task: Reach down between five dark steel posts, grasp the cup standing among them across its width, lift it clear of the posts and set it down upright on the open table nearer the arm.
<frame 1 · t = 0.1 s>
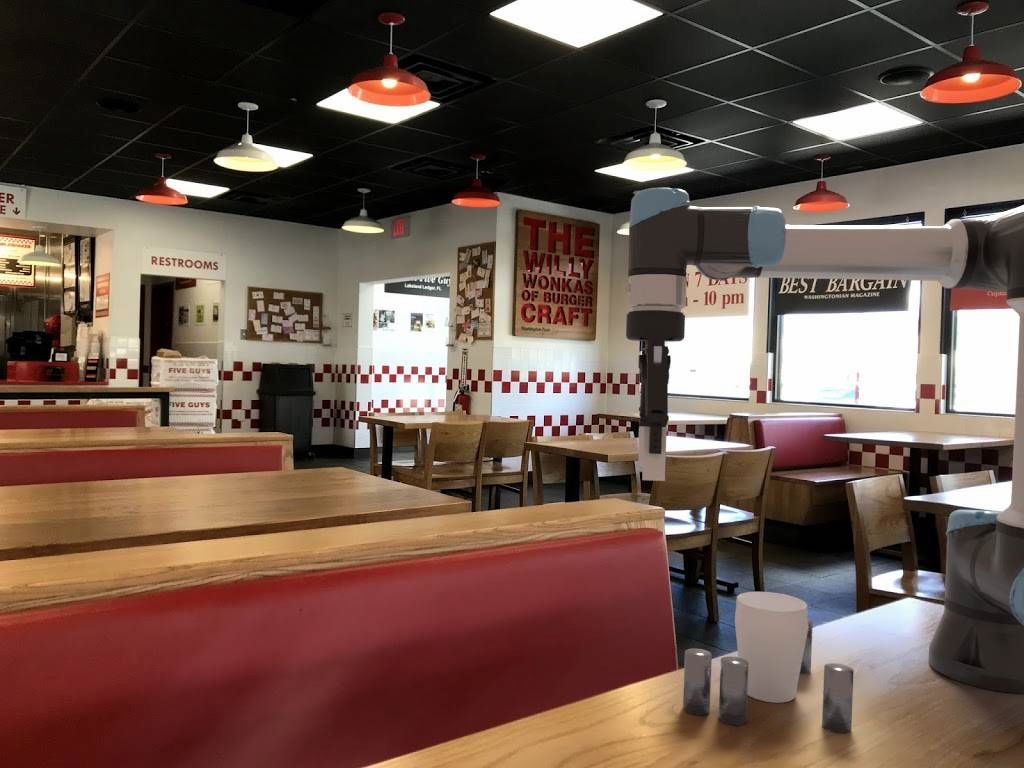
hand: (650, 473, 104), 28 cm above the table, fingers open, 13 cm apart
cup: (768, 694, 104), on the table
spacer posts: (768, 692, 104), on the table
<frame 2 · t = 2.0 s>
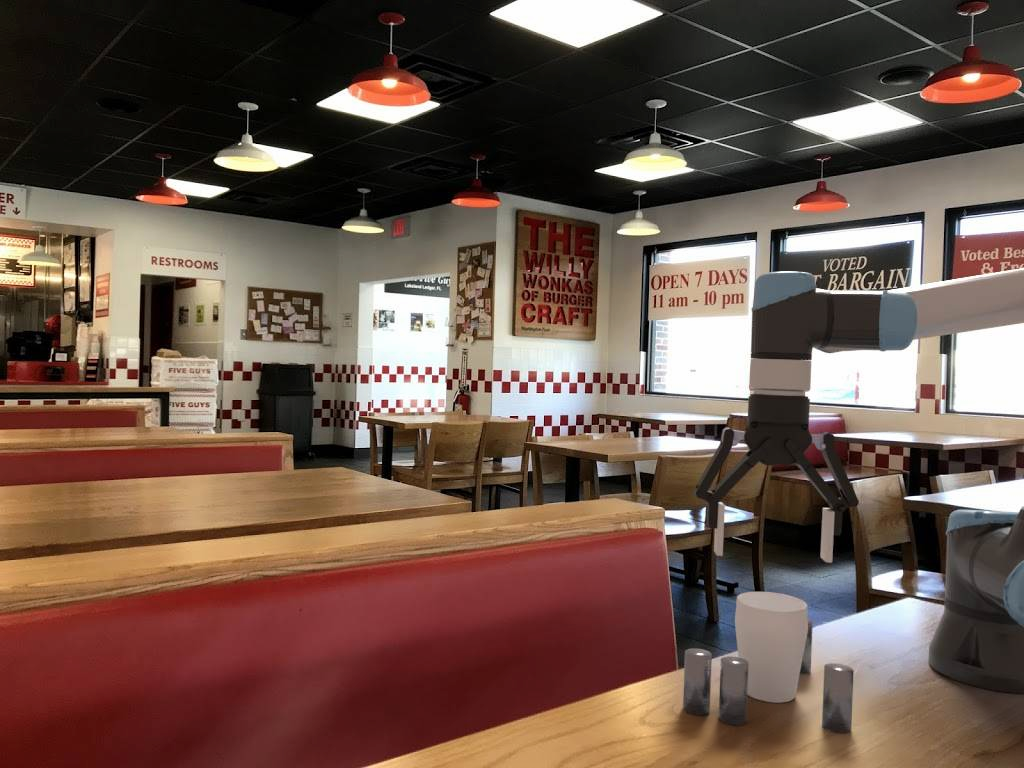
hand: (771, 556, 103), 18 cm above the table, fingers open, 13 cm apart
nothing on the table moved.
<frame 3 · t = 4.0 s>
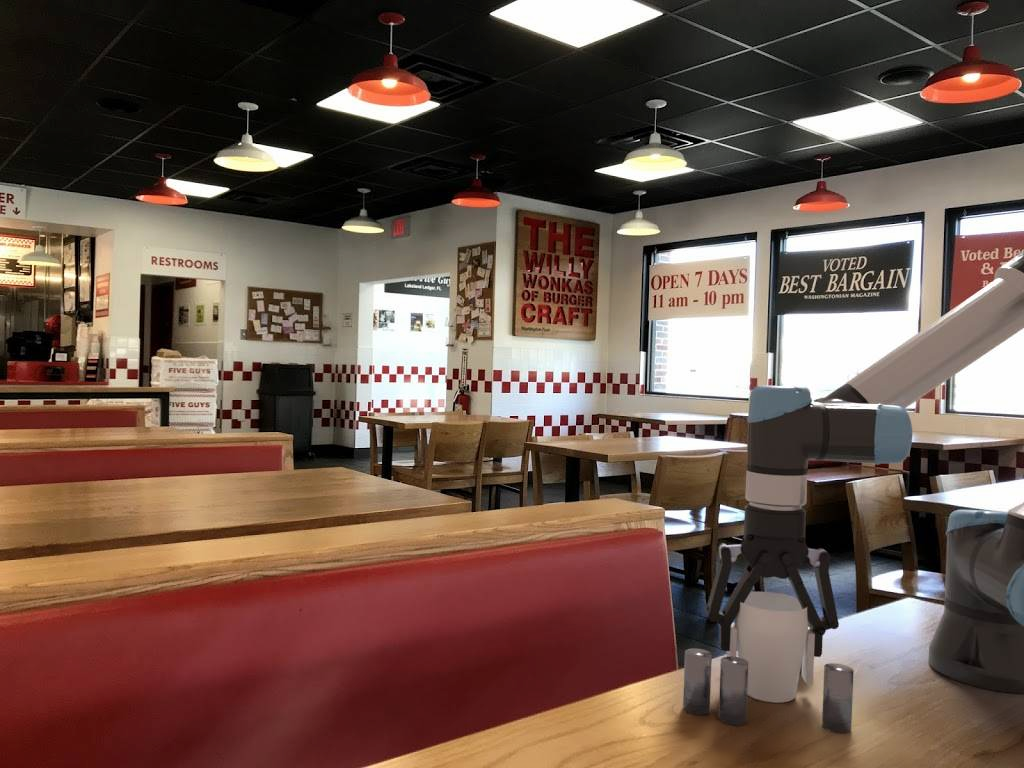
hand: (768, 677, 104), 2 cm above the table, fingers closed on cup, 9 cm apart
cup: (768, 694, 104), on the table, touching gripper
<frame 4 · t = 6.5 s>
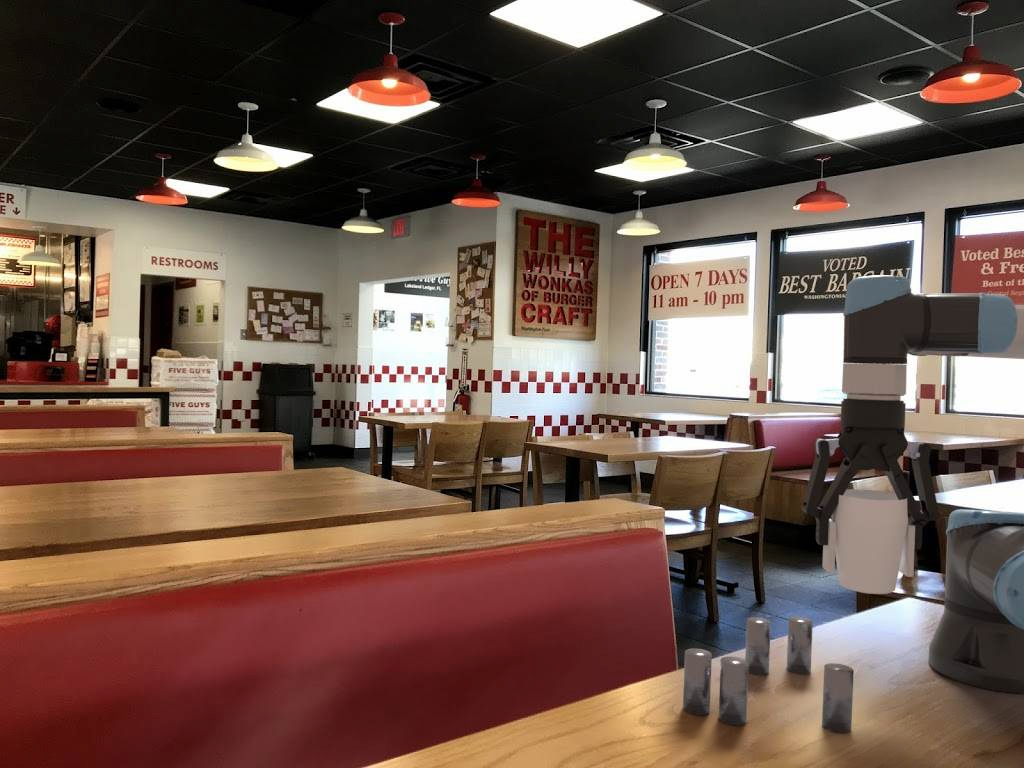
hand: (867, 572, 103), 16 cm above the table, fingers closed on cup, 9 cm apart
cup: (866, 588, 103), point 14 cm above the table, touching gripper
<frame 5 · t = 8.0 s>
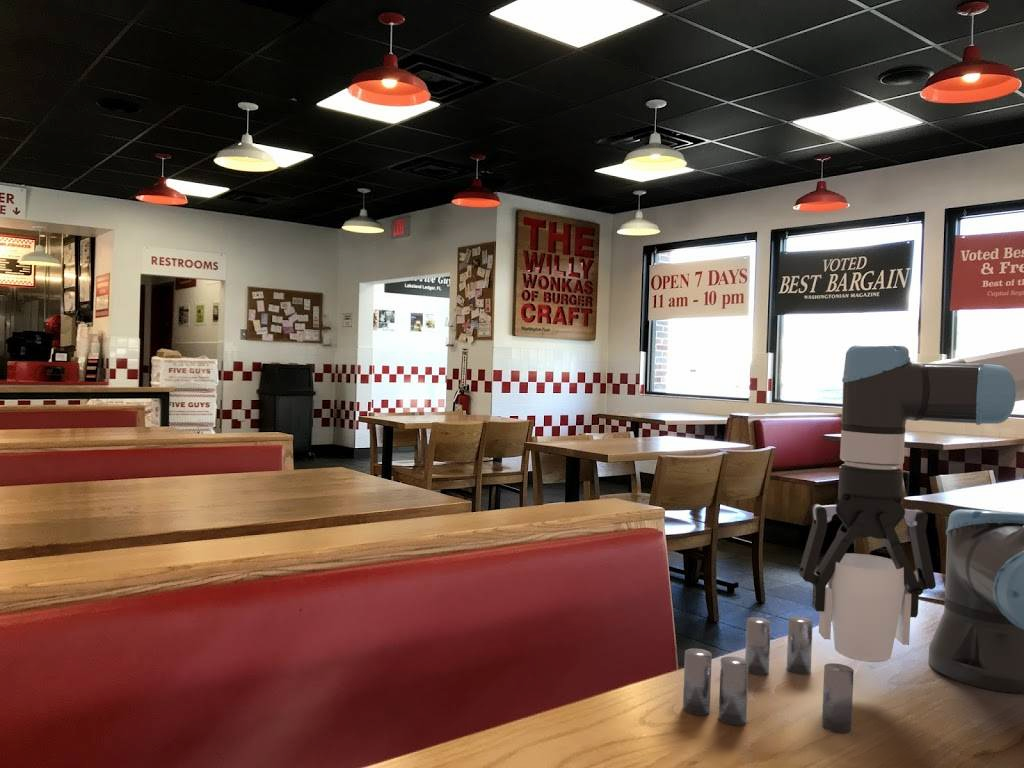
hand: (863, 638, 103), 8 cm above the table, fingers closed on cup, 9 cm apart
cup: (862, 654, 103), point 5 cm above the table, touching gripper
when the fingers open (3 cm above the table, at t = 9.3 s): cup drops 1 cm, on the table.
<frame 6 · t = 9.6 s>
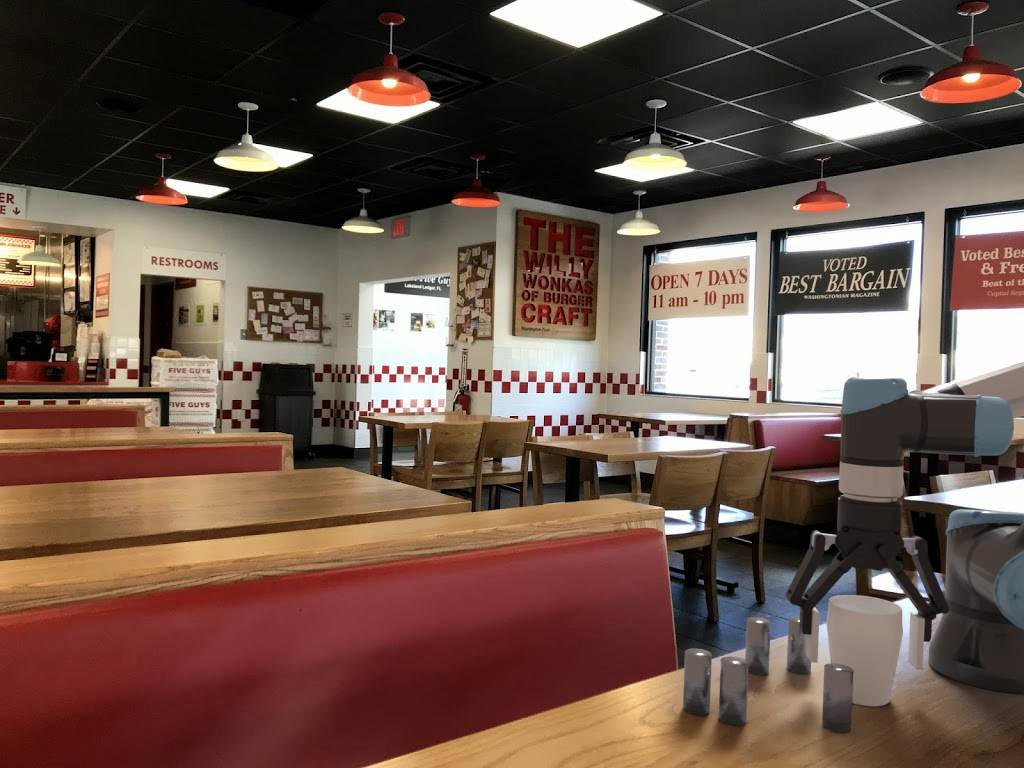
hand: (863, 662, 103), 4 cm above the table, fingers open, 12 cm apart
cup: (861, 697, 103), on the table
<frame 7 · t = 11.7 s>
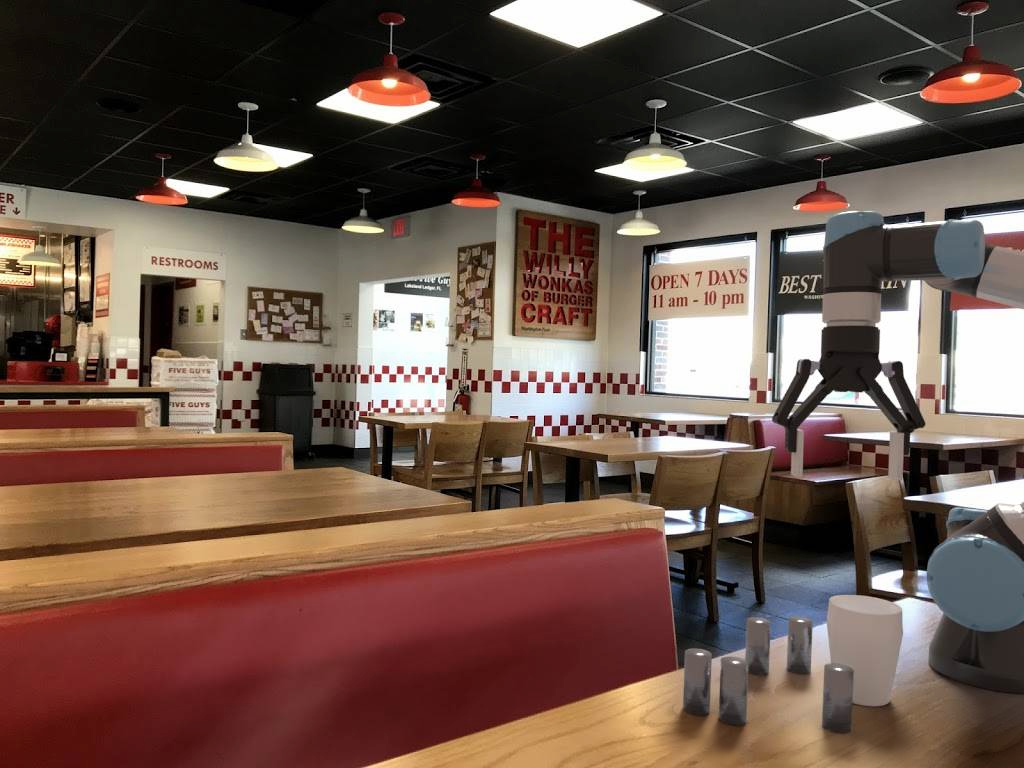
hand: (845, 477, 112), 27 cm above the table, fingers open, 13 cm apart
nothing on the table moved.
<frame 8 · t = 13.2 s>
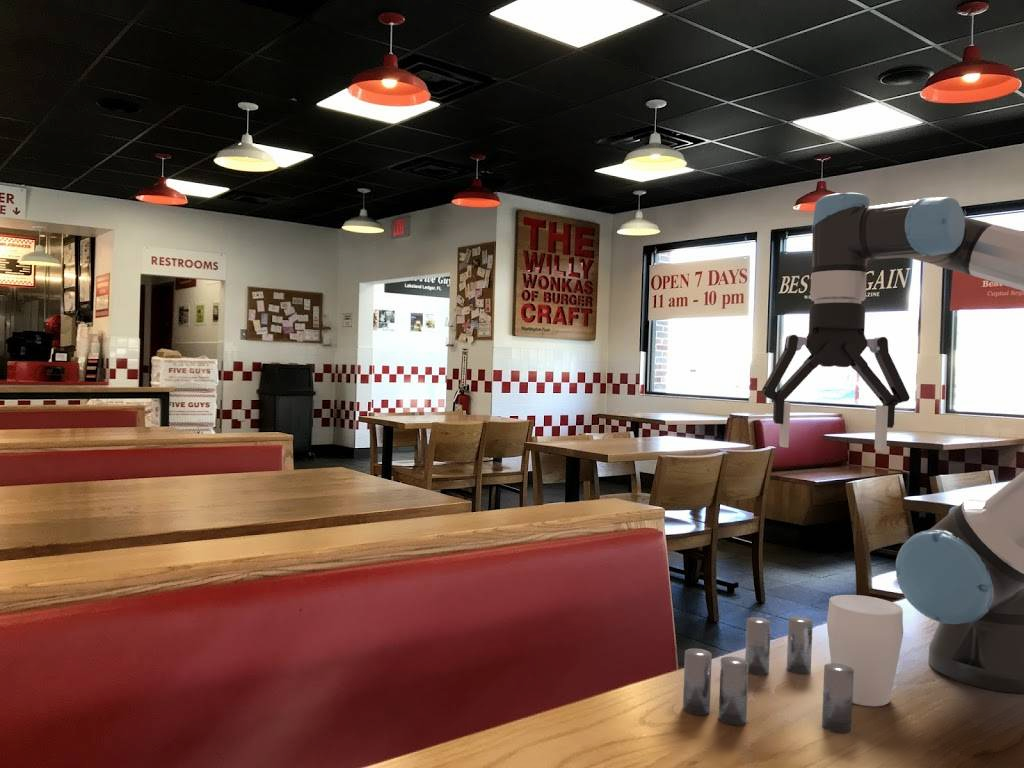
hand: (831, 448, 117), 31 cm above the table, fingers open, 13 cm apart
nothing on the table moved.
at the end: cup moved 12.0 cm from its start; cup inside the target area (0.5 cm from its centre), on the table; cup tilted 0° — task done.
